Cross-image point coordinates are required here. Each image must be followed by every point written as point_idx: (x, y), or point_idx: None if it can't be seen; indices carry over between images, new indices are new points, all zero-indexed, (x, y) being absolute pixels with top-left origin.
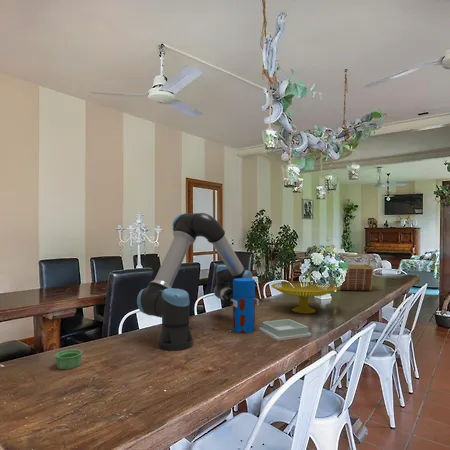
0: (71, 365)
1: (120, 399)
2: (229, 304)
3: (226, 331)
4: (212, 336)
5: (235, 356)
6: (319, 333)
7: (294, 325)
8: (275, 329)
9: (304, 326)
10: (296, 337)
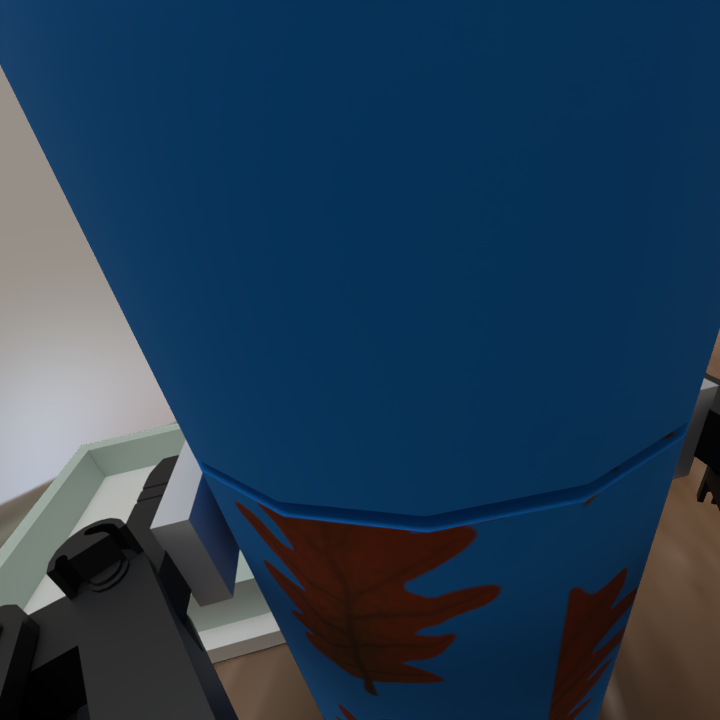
0: None
1: None
2: (709, 471)
3: (643, 645)
4: (714, 505)
5: None
6: (7, 516)
7: (30, 566)
8: None
9: (84, 456)
10: None
